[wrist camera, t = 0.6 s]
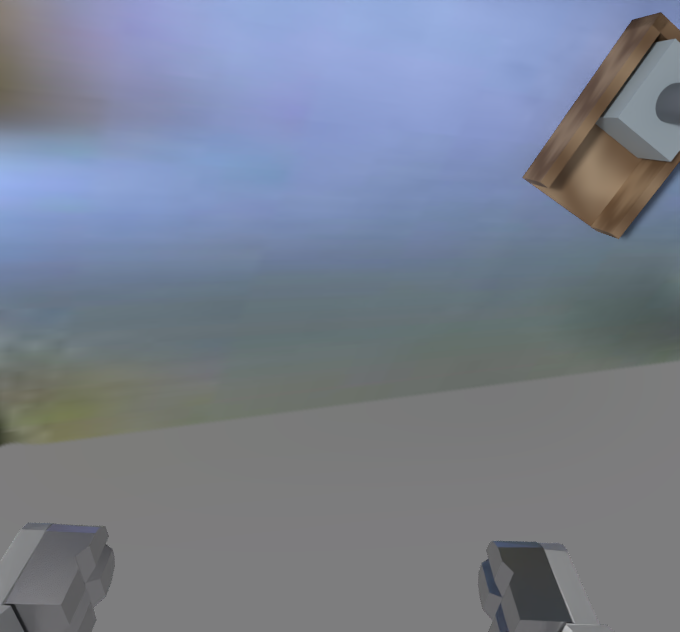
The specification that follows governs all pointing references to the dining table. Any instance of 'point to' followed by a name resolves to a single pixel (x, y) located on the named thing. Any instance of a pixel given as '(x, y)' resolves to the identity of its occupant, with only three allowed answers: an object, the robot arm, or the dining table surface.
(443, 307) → the dining table surface
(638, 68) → the gray post
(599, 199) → the bay
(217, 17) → the dining table surface
